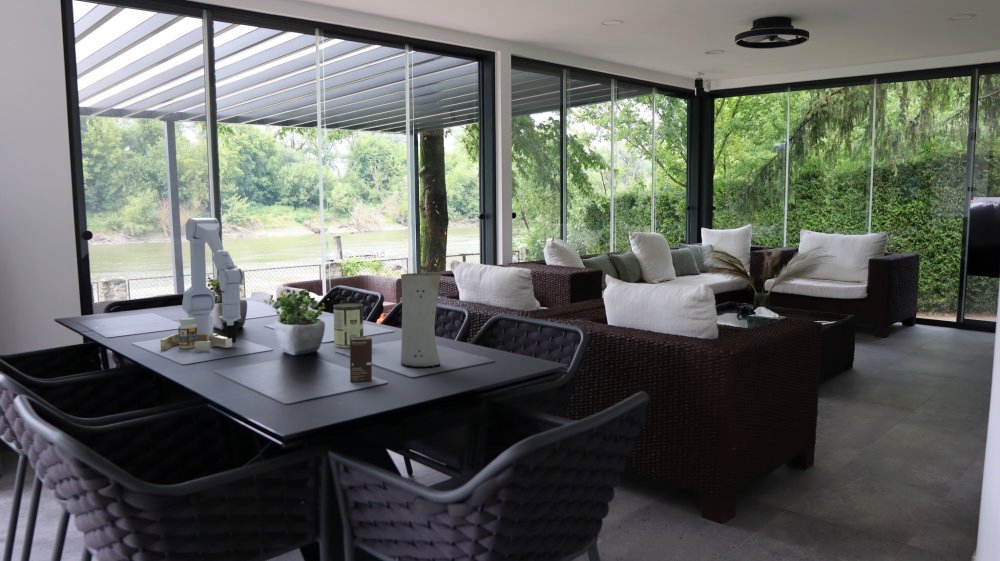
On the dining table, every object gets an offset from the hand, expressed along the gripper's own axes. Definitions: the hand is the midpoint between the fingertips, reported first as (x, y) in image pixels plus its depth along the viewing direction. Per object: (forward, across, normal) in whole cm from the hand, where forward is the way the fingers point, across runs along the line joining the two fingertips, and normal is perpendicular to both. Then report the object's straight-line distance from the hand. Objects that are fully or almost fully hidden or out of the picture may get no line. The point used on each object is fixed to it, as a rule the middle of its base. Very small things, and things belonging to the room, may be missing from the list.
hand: (232, 342), depth 249 cm
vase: (+1, +43, +58) cm, 72 cm away
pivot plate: (+1, -4, -6) cm, 7 cm away
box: (+1, +60, +37) cm, 70 cm away
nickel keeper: (+1, +5, -8) cm, 10 cm away
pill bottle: (+2, -2, -14) cm, 14 cm away
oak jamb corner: (+1, -3, -15) cm, 16 cm away
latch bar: (+1, -1, -4) cm, 4 cm away
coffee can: (+1, +7, +39) cm, 39 cm away
